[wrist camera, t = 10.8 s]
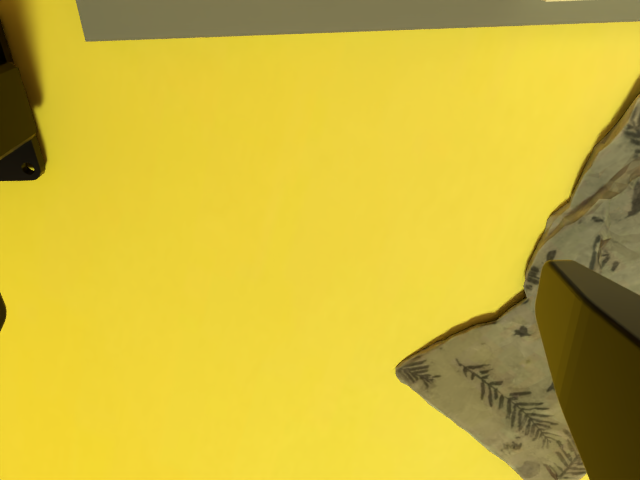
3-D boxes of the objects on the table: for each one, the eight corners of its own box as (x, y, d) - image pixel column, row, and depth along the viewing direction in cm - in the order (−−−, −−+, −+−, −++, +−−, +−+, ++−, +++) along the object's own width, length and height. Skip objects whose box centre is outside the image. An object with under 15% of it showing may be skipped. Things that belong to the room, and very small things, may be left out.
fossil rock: (544, 470, 31) (558, 509, 29) (347, 329, 27) (347, 363, 25) (873, 279, 24) (922, 313, 22) (676, 44, 20) (714, 58, 17)
